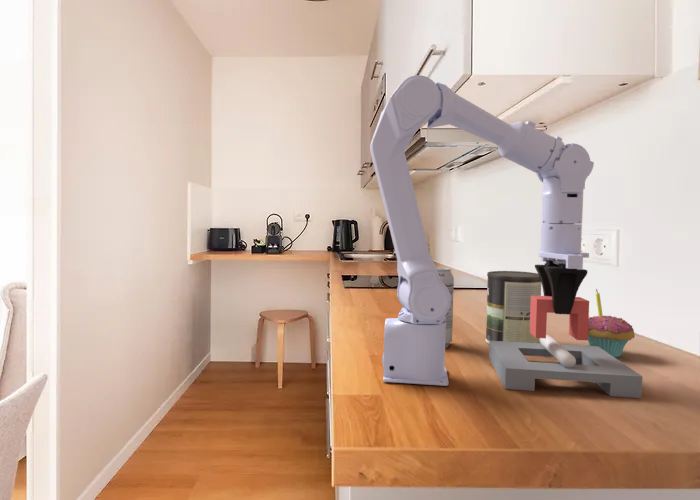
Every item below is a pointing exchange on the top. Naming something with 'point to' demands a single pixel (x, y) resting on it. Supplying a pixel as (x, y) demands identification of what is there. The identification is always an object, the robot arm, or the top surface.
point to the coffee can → (510, 305)
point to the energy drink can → (449, 283)
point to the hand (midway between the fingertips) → (557, 311)
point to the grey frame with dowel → (562, 366)
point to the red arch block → (545, 305)
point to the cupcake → (609, 332)
